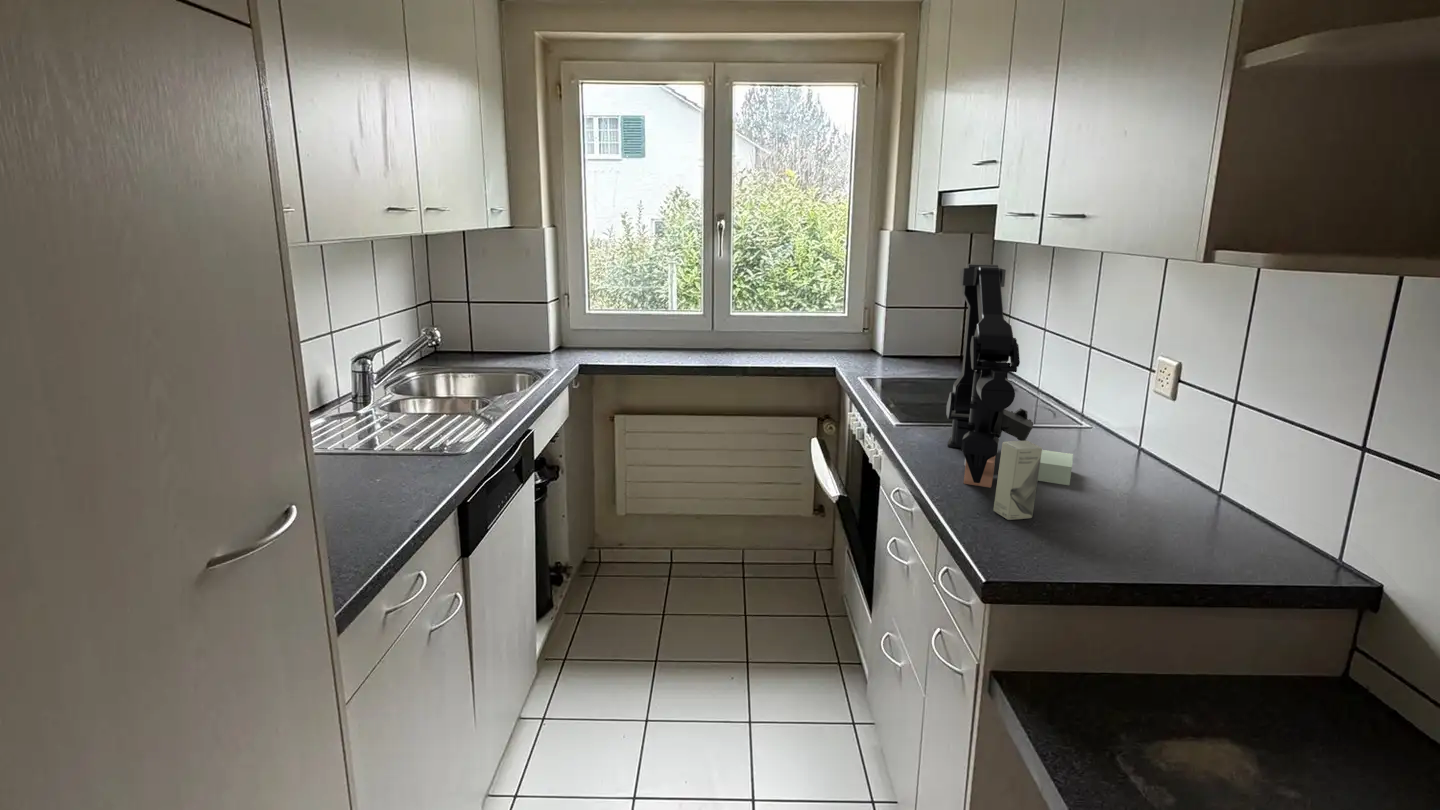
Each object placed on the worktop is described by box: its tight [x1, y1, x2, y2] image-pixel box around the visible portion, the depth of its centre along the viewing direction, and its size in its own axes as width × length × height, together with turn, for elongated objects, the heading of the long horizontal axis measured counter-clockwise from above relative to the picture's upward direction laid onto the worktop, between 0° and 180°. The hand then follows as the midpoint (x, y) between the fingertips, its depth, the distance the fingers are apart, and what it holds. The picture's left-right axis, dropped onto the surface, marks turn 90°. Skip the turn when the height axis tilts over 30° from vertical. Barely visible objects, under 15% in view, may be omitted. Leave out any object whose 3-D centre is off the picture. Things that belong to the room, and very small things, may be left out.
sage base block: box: [1037, 449, 1074, 486], centre depth 154 cm, size 9×9×4 cm
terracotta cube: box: [963, 456, 996, 488], centre depth 149 cm, size 5×5×5 cm
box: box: [993, 440, 1043, 521], centre depth 132 cm, size 5×4×13 cm
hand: (978, 475), depth 150 cm, fingers open, 9 cm apart
